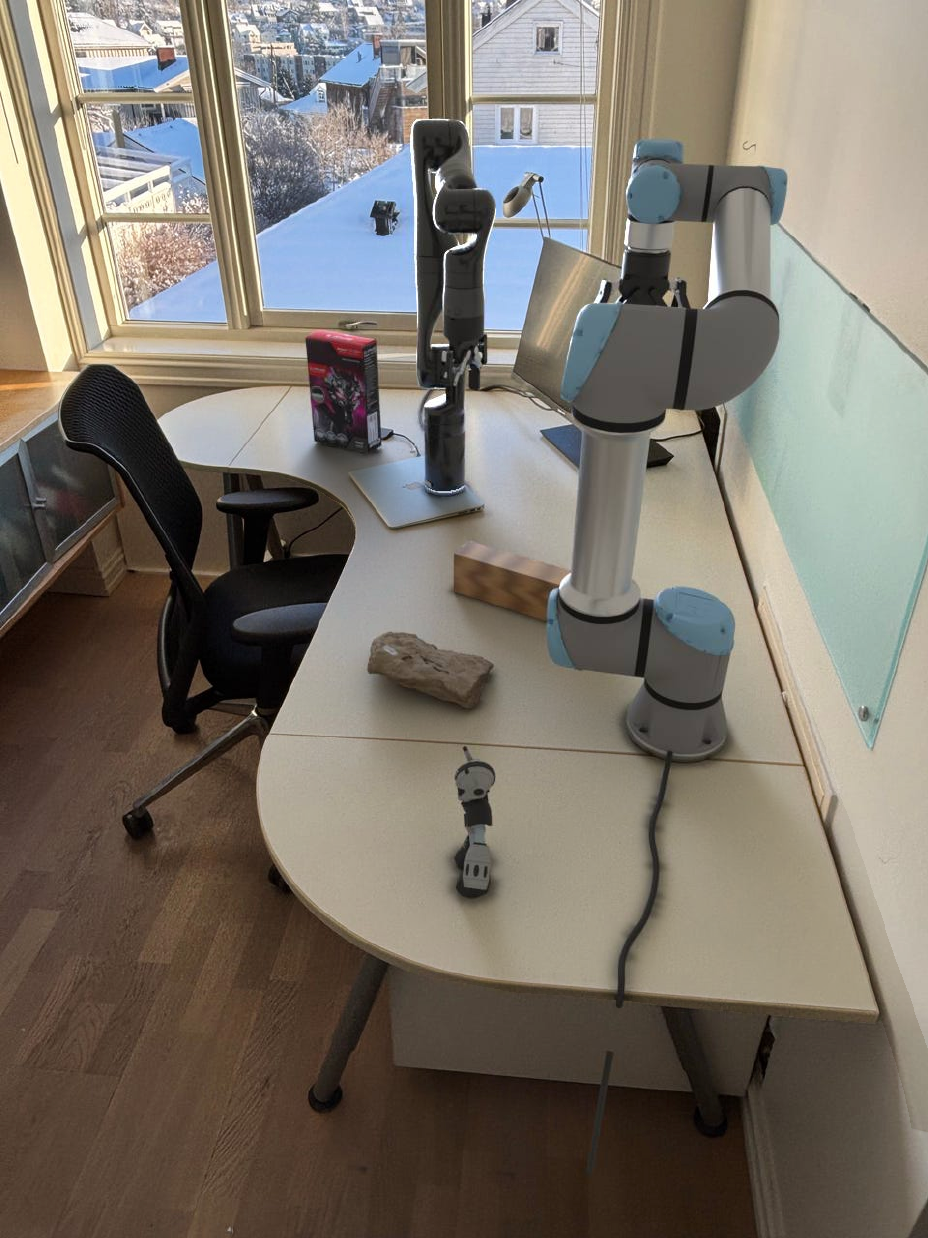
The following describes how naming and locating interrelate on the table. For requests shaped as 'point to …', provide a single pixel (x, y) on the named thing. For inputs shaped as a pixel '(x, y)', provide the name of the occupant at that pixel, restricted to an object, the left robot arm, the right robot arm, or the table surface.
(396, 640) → the stone
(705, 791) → the table surface
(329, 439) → the graphics card box
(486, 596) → the box
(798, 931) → the table surface
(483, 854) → the robot
